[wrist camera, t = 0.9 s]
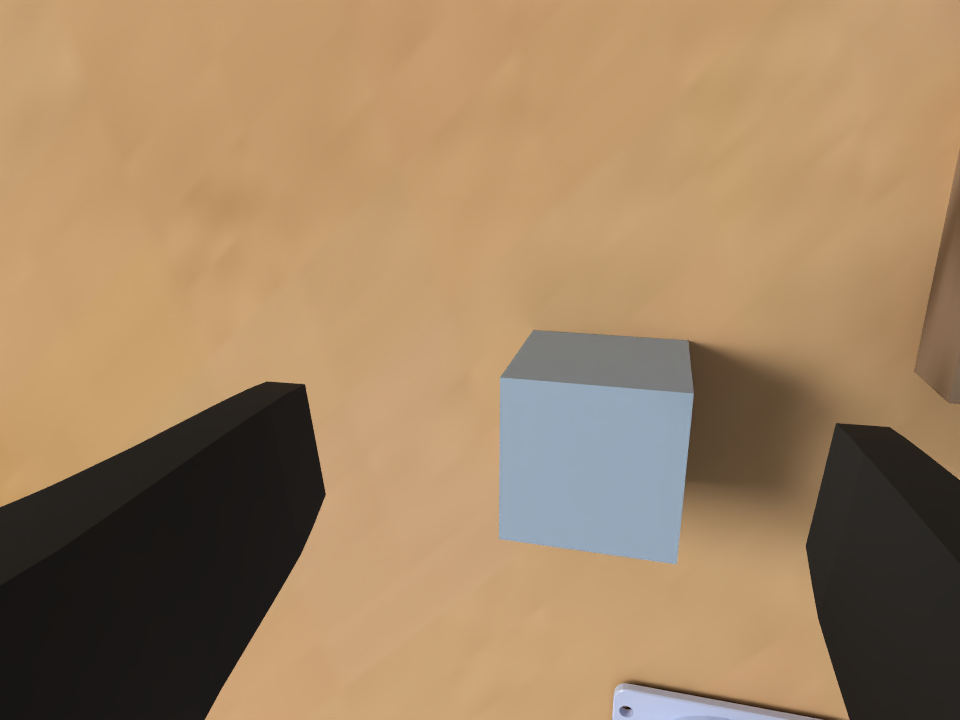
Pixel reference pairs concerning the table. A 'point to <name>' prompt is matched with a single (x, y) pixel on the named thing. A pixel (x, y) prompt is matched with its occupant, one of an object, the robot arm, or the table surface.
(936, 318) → the walnut base
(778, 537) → the table surface
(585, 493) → the gray cube
